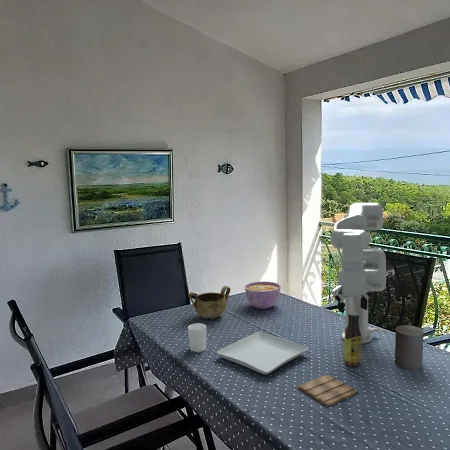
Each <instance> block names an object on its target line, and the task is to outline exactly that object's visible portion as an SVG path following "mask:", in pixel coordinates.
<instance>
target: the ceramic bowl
mask: <svg viewBox="0 0 450 450" xmlns="http://www.w3.org/2000/svg"><path fill="white" fill-rule="evenodd" d="M230 294H231V287H230V286H228V285H224V286H223V287H222V288H221V290H220V292H212V291H211V292H203V293H199V294H196V293H195V292H193V291H190V292H189V293H188V298H189V300H190V302H191V304H192V306H193V307H194V309H195V311H196V313H197V314H198V315H199V316H200V317H202V318H204V319H207V320H208V319H209V320H214V319H216V318H219V317H220V316H222V315H223V314H224V312H225V311H226V308H227V301H228V298H229V295H230ZM193 295H194V299H193V297H192V296H193Z"/></svg>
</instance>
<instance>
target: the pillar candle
mask: <svg viewBox="0 0 450 450" xmlns="http://www.w3.org/2000/svg"><path fill="white" fill-rule="evenodd" d="M424 332H425V331H424V330H423V329H422V328H421V327H417V326H415V325H408V324H406V325H405V324H403V325H398V326H396V328H395V335H394V337H395V338H394V339H395V342H394V343H395V344H394V347H395V349H394V351H395V352H394V364H395V366H397V367H398V368H401V369H403V370H407V371H419V370H422V368H423V355H424V354H423V353H424Z"/></svg>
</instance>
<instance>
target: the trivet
mask: <svg viewBox="0 0 450 450" xmlns="http://www.w3.org/2000/svg"><path fill="white" fill-rule="evenodd" d="M297 389H298V390H300V391H302V392H304V393H305V394H307V395H308V396H310V397H312V398H313V399H314V398H315V399H314V400H316V401H317V400H318V401H317V402H319V403H321V404H322V405H324V406H325V405H326V407H330V406H332V405H335V404H337V403H339V402H341V401H344V400H346V399H348V398H351V397H353V396H355V395H357V394H359V390H357V389H355V388H354V387H353V386H351V385H350V384H346V383H345V382H344V381H342V380H340V379H339V380H338V379H337V378H336V377H335V376H333V375H329V374H325V375H321V376H320V377H318V378H315V379H312V380H310V381H307V382H304V383H302V384H299V385H298V386H297Z"/></svg>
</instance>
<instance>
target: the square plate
mask: <svg viewBox="0 0 450 450" xmlns="http://www.w3.org/2000/svg"><path fill="white" fill-rule="evenodd" d="M308 350H309V347H308V346H305V345H302V344H300V343H297V342H294V341H291V340H288V339H285V338H281V337H278V336H275V335H273V334H268V333H265V332H262V331H258V332H255V333H253V334H250V335H247V336H246V337H243V338H242V339H239V340H238V341H235V342H233V343H231V344H229V345H227V346H225V347H222V348H221V349H219V350H217V351H216V352H215V353H216V354H217V355H219V356H220V357H221V358H224V359H226V360H227V361H230V362H234V363H236V364H238V365H240V366H244V367H245V368H249V369H251V370H253V371H255V372H257V373H258V374H263V375H269V374H271V373H272V372H274V371H276V370H277V369H279V368H280V367H282V366H284V365H285V364H288V363H289V362H290V361H291V362H292V360H294V359H296V358H299V357H300V356H301V355H303V354H305V352H307V351H308Z"/></svg>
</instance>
